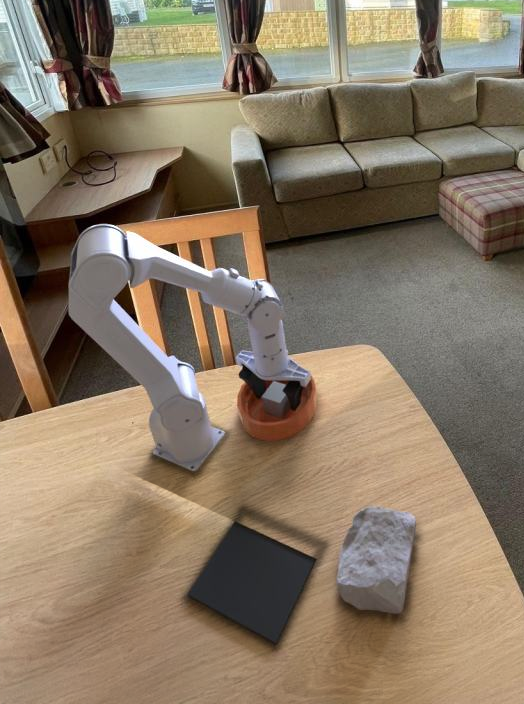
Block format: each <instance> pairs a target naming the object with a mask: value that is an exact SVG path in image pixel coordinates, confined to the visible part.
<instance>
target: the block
mask: <svg viewBox="0 0 524 704" xmlns="http://www.w3.org/2000/svg"><path fill="white" fill-rule="evenodd" d="M285 386H286V385H284V384H281V383H278V382H275V381H273V383H272V384H271V385H270V386H269V388H268V389H267V390H266V392H265V393H264V394H263V396H262V402H263V408H264V412H265V413H268V414H271V415H274V416H277V417H279V418H283V417H284V416H285V414H286V413H287V411H288V410H289V408H290V404H289V400H288V397H287V396H286V394H285V393H284V392H283V389H284V387H285Z"/></svg>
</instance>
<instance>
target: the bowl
mask: <svg viewBox="0 0 524 704" xmlns="http://www.w3.org/2000/svg"><path fill="white" fill-rule="evenodd" d="M301 367H302V368H304V367H303V366H301ZM310 375H311V380H310V381H309V383H308V384H307V386H306V387H304V388H303V391H302V395H301V402H300V404H299V406H298V408H297V409H296V411H293V410H291V408H289V410H288V411H287V413H286V414H285V416H284V417H283V418H279V417H277V416H274V415H271V414H268V413H265V412H264V408H263V402H262V397H261V398H260V399H258V398H257V397H256V396H255V394H254V393H253V391H252V390H251V388H250V387H249V386H248V384H247V383H246V382H245V381H244V382H243V384H242V385H240V388H239V391H238V393H237V396H236V397H237V398H236V399H237V400H236V406H237V411H238V415H239V420H240V423H241V425H242V427H243V430H244V431H245V432H247V433H248V434H249V435H250V436H251V437H252V438H255V439H258V440H261V441H270V442H276V441H281V440H284V439H289V438H290V437H292V436H295V435H296V434H299V433H300V432H301V431H303V430H304V428H306V427H307V426H308V425H309V424H310V423H311V421H312V420H313V418H314V416H315V415H316V412H317V407H318V396H317V395H318V394H317V389H316V382H315V379H314V377H313V376H312V374H311V373H310ZM273 381H275V382H278V383H281V384H284V385H287V383H288V382H289V380H265V383H266V390H267V389H268V388H269V386H270V385H271V384H272V383H273ZM262 396H263V395H262Z"/></svg>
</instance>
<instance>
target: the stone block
mask: <svg viewBox="0 0 524 704" xmlns="http://www.w3.org/2000/svg"><path fill="white" fill-rule="evenodd" d="M416 521H417V520H416V517H415V516H414V515H413V514H411V513H409V512H408V511H407V512H404V511H401V510H394V509H389V508H385V507H381V506H373V505H372V506H365V507H364V508H363V509H359V510H358V511H357V512H356V513H355V514H354V516H353V517H352V523H351V526H350V527H349V528H348V530H347V533H346V535H345V537H344V540H343V543H342V546H341V549H340V551H339V555H338V565H337V575H336V588H337V589H336V590H337V591H338V593H339V595H340V597H341V598H342V600H343V601H344V602H345V603H348V604H350V605H351V606H353V607H355V609H358V610H359V611H360V610H361V611H365V610H367V611H378V612H381V613H389V614H396V615H398V614H401V613H402V612H403V610H404V605H405V598H406V592H407V585H408V579H409V574H410V567H411V561H412V553H413V549H414V548H413V547H414V542H415V537H416V531H417V530H416V528H417V522H416Z"/></svg>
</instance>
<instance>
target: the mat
mask: <svg viewBox="0 0 524 704" xmlns="http://www.w3.org/2000/svg"><path fill="white" fill-rule="evenodd" d="M316 561H317V558H316V557H314V556H312V555H309V554H307V553H305V552H303V551H301V550H299V549H297V548H294V547H292V546H291V545H288V544H286V543H283V542H281V541H279V540H277V539H275V538H273V537H271V536H268V535H266V534H264V533H262V532H259V531H257V530H256V529H253V528H250V527H248V526H247V525H244V524H242V523H240V522H237V521H235V520H234V521H233V523H232V524H231V526H230V527H229V529H228V531H227V532H226V534H225V535H224V537H223V538H222V540H221V542H220V543H219V545H218V546H217V548H216V549H215V551H214V552H213V554H212V555H211V557H210V559H209V560H208V562H207V564H206V565H205V567H203V570H202V571H201V572H200V575H199V576H198V577H197V579H196V580H195V582H194V583H193V585H192V587H191V588H190V590H189V591H188V593H187V596H188V598H190V599H193V600H194V601H196V602H198V603H200V604H201V605H203V606H205V607H207V608H208V609H211V610H212V611H214V612H216V613H218V614H220V615H222V616H223V617H226V618H227V619H229V620H231V621H232V622H234V623H236V624H238V625H239V626H242V627H243V628H245V629H247V630H248V631H250V632H253V633H254V634H256V635H258V636H259V637H261V638H264V639H265V640H266V641H269V642H271V643H273V644H274V645H277V644H278V642H279V640H280V638H281V636H282V633H283V631H284V630H285V627H286V625H287V623H288V621H289V619H290V616H291V615H292V612H293V610H294V608H295V606H296V604H297V603H298V600H299V598H300V596H301V594H302V591H303V589H304V586H305V585H306V584H307V583H306V582H307V580H308V579H309V576H310V574H311V572H312V569H313V567H314V565H315V563H316Z"/></svg>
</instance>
